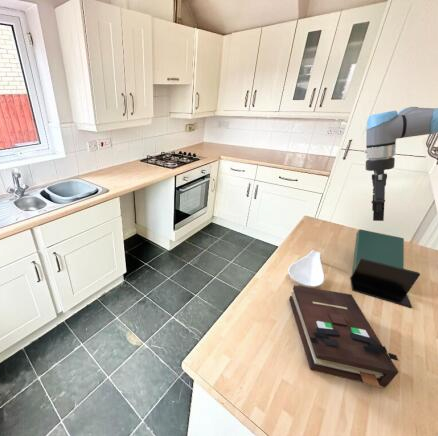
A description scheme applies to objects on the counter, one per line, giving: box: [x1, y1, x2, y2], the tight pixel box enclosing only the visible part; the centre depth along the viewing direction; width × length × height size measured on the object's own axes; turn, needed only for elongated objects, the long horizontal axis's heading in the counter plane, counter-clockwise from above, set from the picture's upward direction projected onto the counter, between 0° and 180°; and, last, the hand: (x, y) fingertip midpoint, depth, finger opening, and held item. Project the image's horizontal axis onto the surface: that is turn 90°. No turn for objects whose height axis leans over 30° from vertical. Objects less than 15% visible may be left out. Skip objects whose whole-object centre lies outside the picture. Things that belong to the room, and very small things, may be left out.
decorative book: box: [288, 284, 400, 388], centre depth 71 cm, size 19×8×30 cm
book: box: [351, 228, 405, 273], centre depth 96 cm, size 14×20×3 cm
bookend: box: [349, 258, 421, 309], centre depth 86 cm, size 16×8×10 cm, turn 59°
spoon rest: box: [287, 249, 325, 289], centre depth 96 cm, size 24×12×7 cm, turn 138°
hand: (377, 215), depth 91 cm, fingers open, 13 cm apart
